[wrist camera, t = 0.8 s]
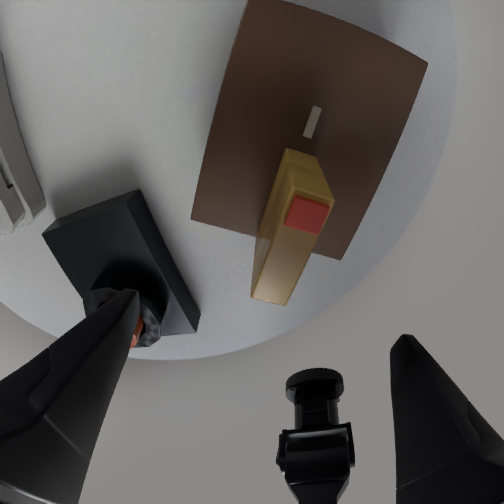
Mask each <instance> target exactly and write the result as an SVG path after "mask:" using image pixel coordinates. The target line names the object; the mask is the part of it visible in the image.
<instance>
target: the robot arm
mask: <svg viewBox="0 0 504 504" xmlns="http://www.w3.org/2000/svg"><path fill="white" fill-rule="evenodd" d="M139 314H140V303H139V293H138V291H136V290H133V289H128V288H126V289H124V290H122V291H121V292H120V293H118V294H117V295H116V296H114V297H113V298H111V299H110V300H109V301H107V302H106V303H105V304H103V305H102V306H101V307H99V308H98V309H97V310H95V311H94V312H93V313H91V314H90V315H89V316H87V317H86V318H85V319H83V320H82V321H81V322H79V323H78V324H77V325H76V326H74V327H73V328H72V329H70V330H69V331H68V332H66V333H65V334H64V335H63V336H61V337H60V338H59V339H58V340H56V341H55V342H54V343H52V344H51V345H50V346H49V348H46V349H45V350H43V351H42V352H41V353H40V354H38V355H37V356H36V357H34V358H33V359H32V360H30V361H29V362H28V363H27V364H25V365H23V366H22V367H20V368H19V369H18V370H16V371H15V372H13V373H11V374H10V375H8V376H7V377H5V378H4V379H2V380H1V381H0V504H78V502H79V498H80V494H81V491H82V487H83V483H84V480H85V477H86V473H87V470H88V466H89V463H90V460H91V457H92V453H93V450H94V447H95V444H96V441H97V438H98V435H99V432H100V429H101V426H102V423H103V420H104V418H105V415H106V412H107V409H108V406H109V404H110V401H111V398H112V395H113V393H114V389H115V387H116V384H117V382H118V379H119V377H120V374H121V372H122V369H123V366H124V364H125V361H126V359H127V356H128V353H129V349H130V346H131V342H132V339H133V335H134V331H135V328H136V324H137V321H138V318H139ZM390 371H391V397H392V407H393V418H394V432H395V450H396V488H397V489H396V504H504V440H503V439H502V438H501V437H500V436H499V434H498V433H497V432H496V431H495V430H494V429H493V428H492V427H491V426H490V425H489V424H488V423H487V421H486V420H485V419H484V418H483V417H482V416H481V415H480V413H479V412H478V411H477V410H476V409H475V407H474V406H473V405H472V404H471V402H470V401H468V399H467V398H466V396H465V395H464V394H463V393H462V391H461V390H460V389H459V388H458V387H457V385H456V384H455V383H454V382H453V381H452V379H451V378H450V377H449V376H448V375H447V374H446V373H445V371H444V370H443V369H442V368H441V367H440V365H439V364H438V363H437V362H436V361H435V360H434V359H433V357H432V356H431V355H430V354H429V353H428V352H427V351H426V349H425V348H424V347H423V346H422V345H421V344H420V343H419V342H418V341H417V339H416V338H415V337H414V336H413V335H408V334H403V335H401V336H400V337H399V339H398V340H397V341H396V343H395V344H394V345H393V347H392V348H391V351H390ZM288 390H289V393H290V396H291V398H292V401H293V403H294V406H295V429H293V430H287V429H285V430H282V434H280V435H279V448H278V452H277V457H276V464H277V465H279V467H280V469H281V473H282V474H285V480H286V483H287V485H288V487H289V489H290V491H291V492H292V494H293V495H294V497H295V498H296V500H297V501H298V502H299V504H337V502H338V500H339V499H340V497H341V496H342V494H343V492H344V490H345V489H346V487H347V486H348V483H349V476H350V468H352V467H355V453H354V444H353V436H352V430H351V423H350V422H348V423H345V424H339V417H338V408H337V402H339V401H340V400H339V388H338V380H337V379H331V380H325V381H318V382H312V383H304V384H297V385H290V386H288Z"/></svg>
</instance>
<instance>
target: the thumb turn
mask: <svg viewBox="0 0 504 504" xmlns="http://www.w3.org/2000/svg"><path fill="white" fill-rule="evenodd" d="M334 202H335V200H334V197H333V195H332V192H331V190H330V188H329V185H328V183H327V181H326V178H325V176H324V174H323V172H322V169H321V167H320V165H319V163H318V160H317V158H316V157H315V156H312V155H309V154H306V153H303V152H299V151H296V150H293V149H290V148H286V149H285V152H284V154H283V157H282V160H281V163H280V166H279V169H278V172H277V175H276V178H275V181H274V184H273V187H272V190H271V193H270V196H269V199H268V201H267V204H266V207H265V210H264V213H263V216H262V219H261V222H260V225H259V228H258V231H257V234H256V244H255V254H254V265H253V275H252V286H251V298H253V299H257V300H261V301H266V302H270V303H274V304H278V305H283V306H285V305H286V304H287V302H288V300H289V298H290V296H291V294H292V292H293V290H294V288H295V286H296V284H297V282H298V280H299V277H300V275H301V273H302V271H303V269H304V267H305V265H306V263H307V261H308V259H309V257H310V255H311V252H312V250H313V248H314V246H315V244H316V242H317V240H318V237H319V235H320V233H321V231H322V229H323V227H324V224H325V222H326V220H327V218H328V216H329V213H330V211H331V209H332V207H333V204H334Z"/></svg>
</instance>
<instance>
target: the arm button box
mask: <svg viewBox="0 0 504 504" xmlns="http://www.w3.org/2000/svg"><path fill="white" fill-rule="evenodd" d="M42 236H43V238H44V240H45V241H46V243H47V245H48V246H49V248H50V250H51V252H52V253H53V255H54V256H55V258H56V260H57V261H58V263H59V265H60V266H61V268H62V269H63V271H64V272H65V274H66V275H67V277H68V279H69V280H70V282H71V283H72V285H73V286H74V288H75V289H76V290H77V292H78V293H79V295H80V296H81V298H82V299H83V304H84V309H85V314H86V317H87V316H89V315H90V314H91V313H93V312H94V311H95V310H97V309H98V308H99V307H101V306H102V305H103V304H104V303H105V302H107V301H109V300H110V299H111V298H113V297H114V296H116V295H117V294H118V293H120V292H121V291H122V290H124V289H126V288H128V289H133V290H136V291H138V293H139V303H140V314H139V315H140V317H141V318H142V320H143V328H142V330H141V333H140V335H139V338H138V341H137V343H136V345H135V346H134V347H133V348H137V347H150V346H151V345H152V344H154V343H155V342H156V341H158V340H159V339H160V337H161V336H167V335H179V334H189V333H196V332H197V328H198V324H199V320H200V316H201V313H200V312H199V310H198V308H197V306H196V304H195V302H194V300H193V298H192V297H191V295H190V293H189V291H188V289H187V287H186V285H185V283H184V281H183V279H182V277H181V275H180V273H179V271H178V269H177V267H176V265H175V263H174V261H173V259H172V257H171V255H170V253H169V251H168V249H167V247H166V245H165V243H164V241H163V239H162V237H161V235H160V233H159V230H158V228H157V226H156V224H155V222H154V220H153V218H152V215H151V213H150V211H149V209H148V207H147V204H146V202H145V200H144V198H143V195H142V193H141V191H140V189H138V190H135V191H132V192H129V193H126V194H123V195H120V196H117V197H114V198H112V199H109V200H106V201H103V202H101V203H98V204H95V205H93V206H90V207H87V208H85V209H82V210H80V211H77V212H75V213H72V214H70V215H67V216H65V217H62V218H60V219H57V220H55V221H54V222H53V223H52V224H51V225H50V226H49V227H48V228H47V229H46V230H45V231H44V232H43V233H42Z"/></svg>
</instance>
